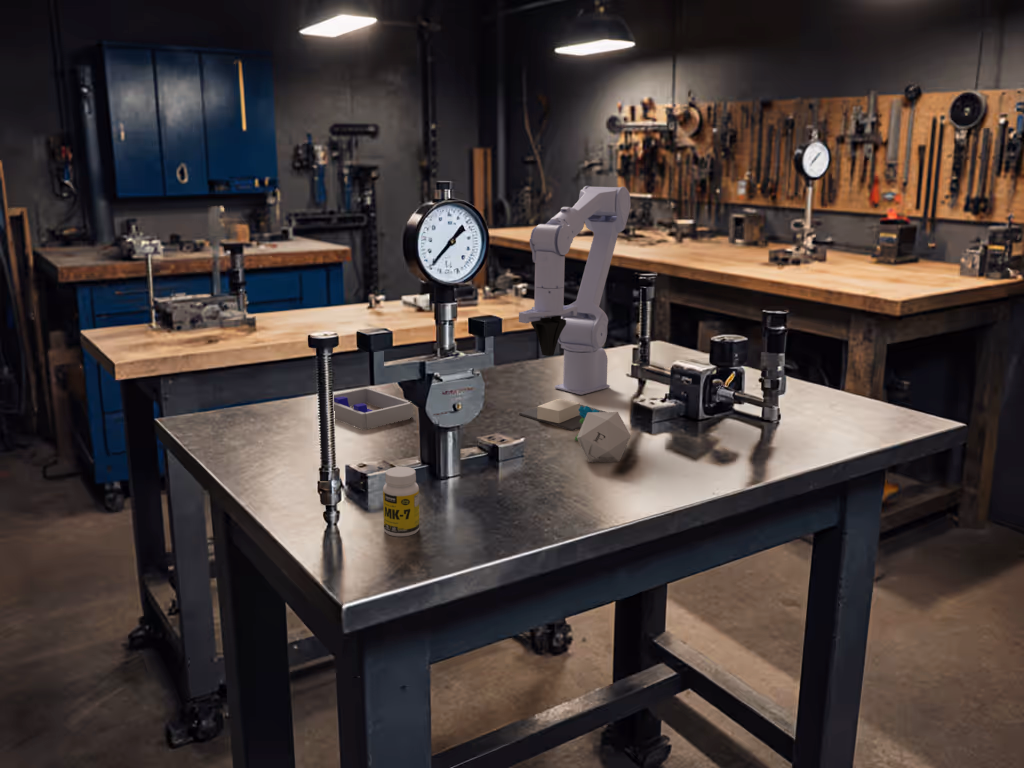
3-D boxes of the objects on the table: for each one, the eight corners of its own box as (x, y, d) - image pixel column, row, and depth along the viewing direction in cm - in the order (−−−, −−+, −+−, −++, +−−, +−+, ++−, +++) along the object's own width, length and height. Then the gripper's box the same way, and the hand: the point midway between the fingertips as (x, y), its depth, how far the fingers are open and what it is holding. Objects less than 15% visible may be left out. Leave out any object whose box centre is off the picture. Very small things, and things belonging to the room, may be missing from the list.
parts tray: (367, 401, 179) (367, 387, 178) (414, 417, 168) (413, 402, 167) (318, 412, 171) (317, 397, 171) (363, 430, 160) (362, 414, 160)
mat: (565, 402, 179) (565, 400, 179) (618, 416, 169) (618, 414, 169) (519, 414, 170) (519, 412, 170) (572, 430, 161) (572, 428, 160)
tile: (558, 398, 171) (537, 406, 165) (580, 402, 168) (559, 411, 162) (558, 411, 171) (537, 419, 166) (579, 415, 168) (558, 424, 163)
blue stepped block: (374, 423, 165) (373, 403, 164) (358, 427, 163) (358, 406, 162) (350, 414, 171) (349, 394, 170) (335, 418, 169) (334, 398, 168)
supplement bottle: (379, 536, 116) (377, 476, 114) (389, 521, 121) (387, 464, 119) (414, 538, 115) (413, 478, 113) (423, 524, 120) (422, 466, 118)
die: (566, 458, 148) (571, 425, 140) (591, 424, 152) (598, 391, 145) (608, 482, 145) (616, 450, 138) (633, 447, 150) (642, 413, 142)
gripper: (560, 281, 178) (558, 347, 182) (508, 287, 169) (507, 356, 172) (585, 285, 174) (583, 352, 177) (534, 291, 164) (532, 362, 167)
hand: (547, 355), depth 174 cm, fingers closed
